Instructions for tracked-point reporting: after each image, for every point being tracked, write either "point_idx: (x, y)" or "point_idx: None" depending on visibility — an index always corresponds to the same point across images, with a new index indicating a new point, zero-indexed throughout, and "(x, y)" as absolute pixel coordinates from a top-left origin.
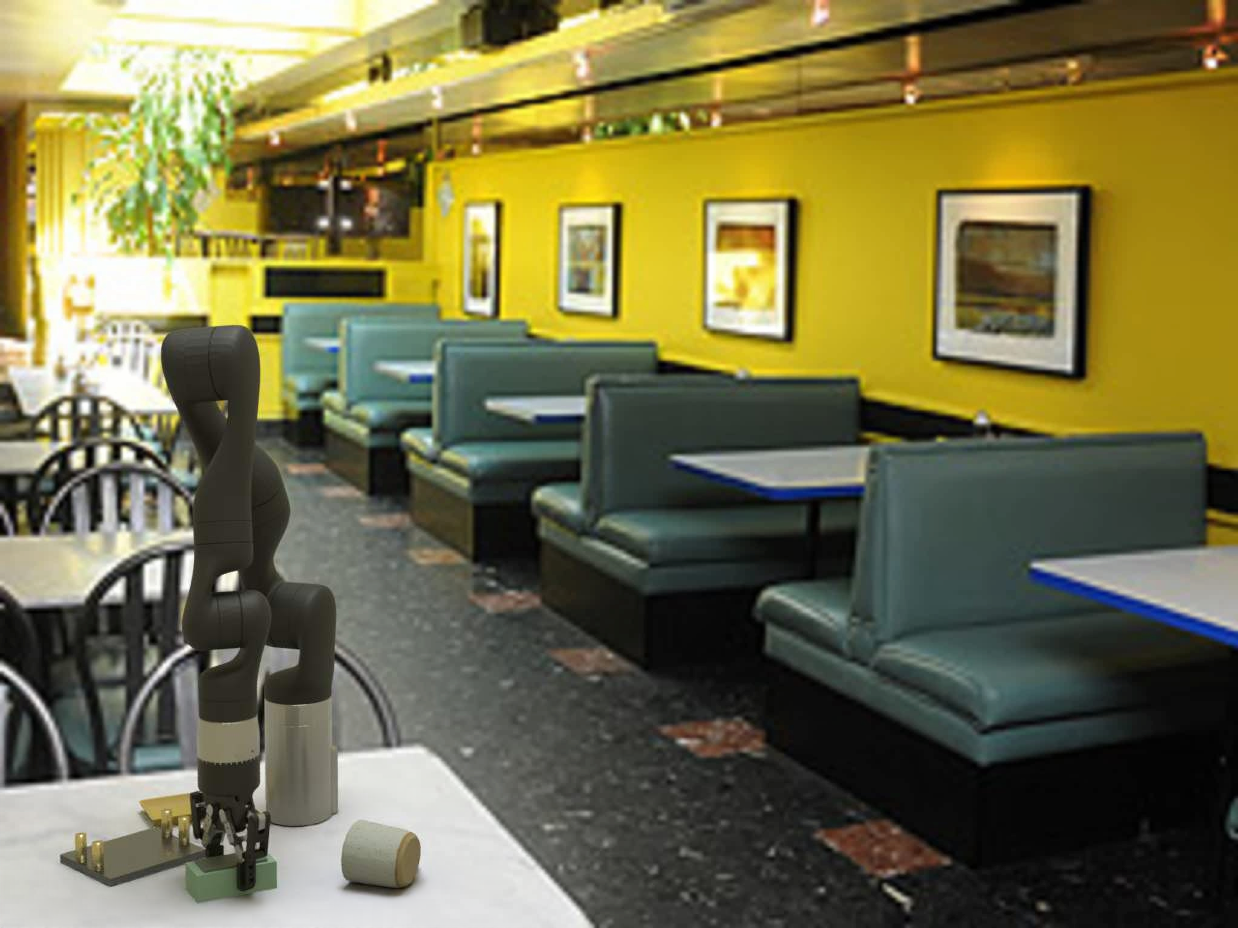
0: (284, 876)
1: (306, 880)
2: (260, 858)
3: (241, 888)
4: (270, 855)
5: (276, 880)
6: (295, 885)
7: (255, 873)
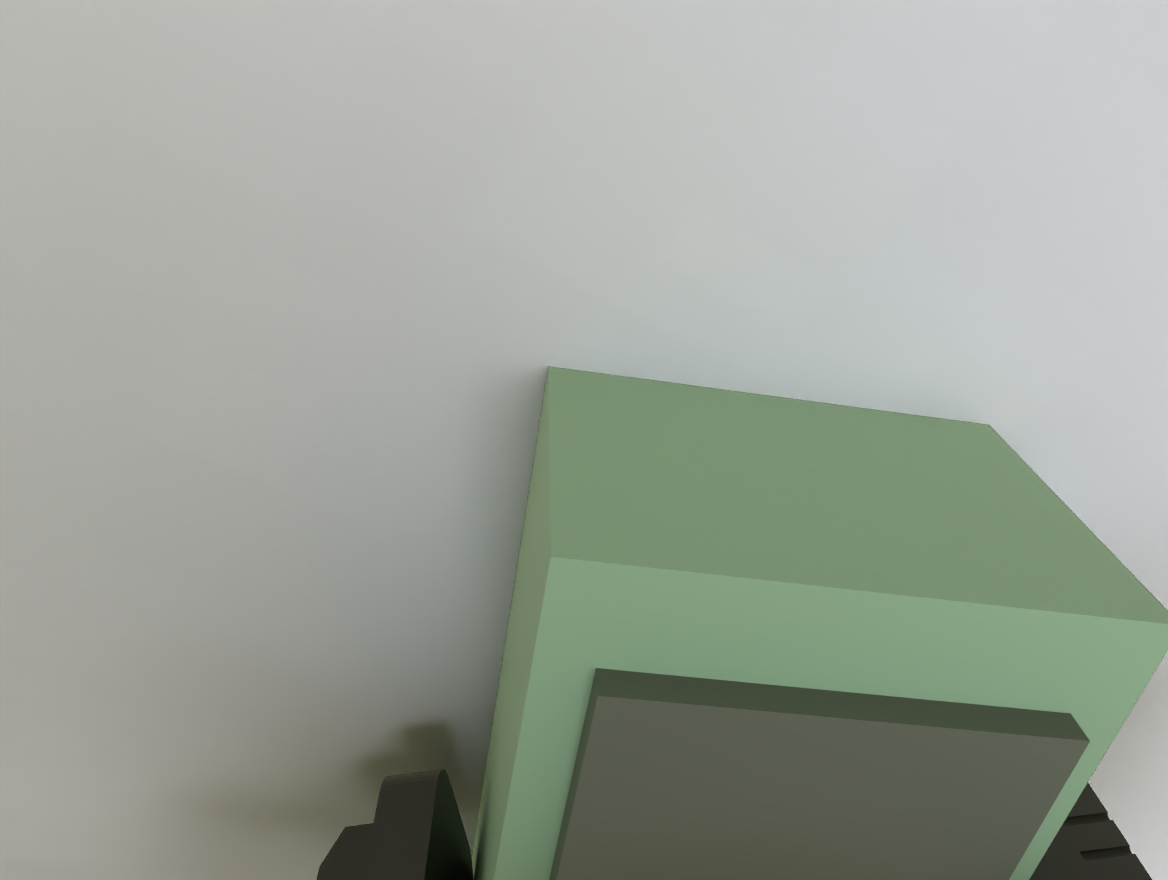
0: (775, 202)
1: (1105, 30)
2: (986, 794)
3: None
4: (906, 595)
5: (1024, 469)
6: (1111, 235)
7: (1129, 851)
